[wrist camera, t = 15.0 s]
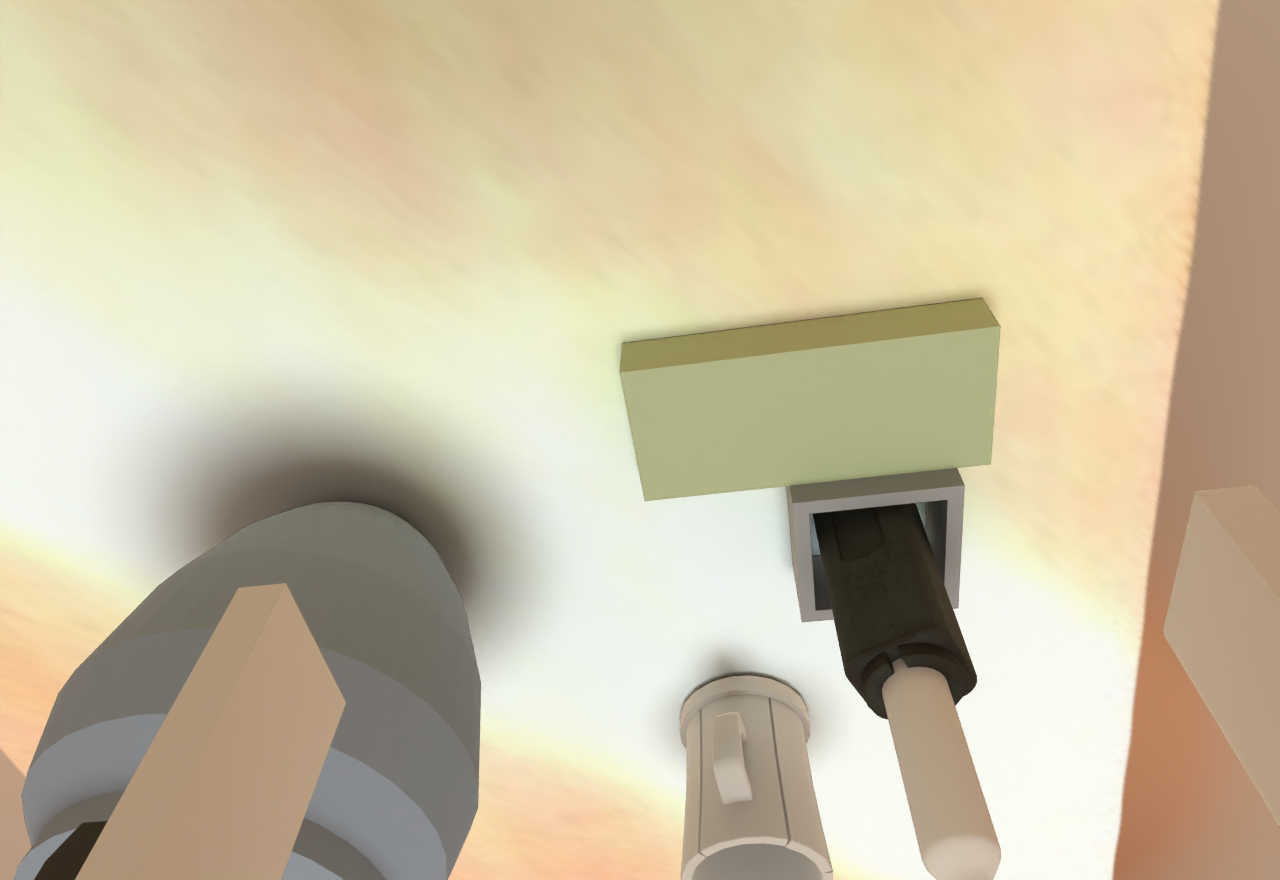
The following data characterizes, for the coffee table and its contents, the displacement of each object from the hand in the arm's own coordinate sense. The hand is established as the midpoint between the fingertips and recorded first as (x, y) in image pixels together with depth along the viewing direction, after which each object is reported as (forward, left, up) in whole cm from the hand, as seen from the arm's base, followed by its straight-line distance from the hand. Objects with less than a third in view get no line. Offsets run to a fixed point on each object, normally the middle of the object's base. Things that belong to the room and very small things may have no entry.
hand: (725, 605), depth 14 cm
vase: (-23, -24, -32) cm, 46 cm away
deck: (+4, -20, -32) cm, 38 cm away
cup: (-2, -41, -32) cm, 52 cm away
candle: (+7, -24, -32) cm, 41 cm away
